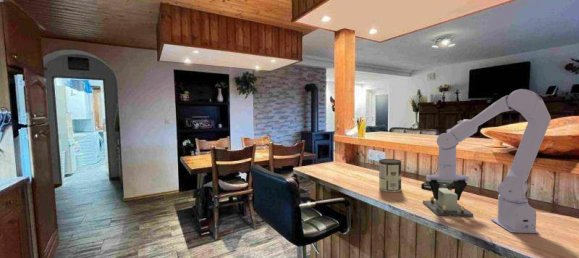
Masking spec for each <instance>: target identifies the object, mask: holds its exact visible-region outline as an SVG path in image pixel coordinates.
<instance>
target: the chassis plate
mask: <svg viewBox="0 0 579 258" xmlns="http://www.w3.org/2000/svg"><path fill="white" fill-rule="evenodd" d="M422 204H423V205H424V206H426V207H427V208H428V209H429V210H430V211H431V212H433V213H434V214H435V215H436V216H438V217H466V218H467V217H468V218H470V217H472V218H474V213H473V212H471V211H469V210H468V209H467V208H465V206H462V205H461V204H459V203H457V211H448V210H446V206H443V208H442V207H441V206H439V205H438V204H437V203H436V200H435V199H434V197H433V196H430V200H422Z"/></svg>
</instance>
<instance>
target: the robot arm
mask: <svg viewBox="0 0 579 258" xmlns="http://www.w3.org/2000/svg"><path fill="white" fill-rule="evenodd" d="M509 111H516V112H518V113H520V114H521V116H522V117H523V118H524V119H525V120H526V121H527V124H526V126H525V129H524V132H523V134H522V137H521V140H520V142H519V145H518V148H517V151H516V152H515V155H514V158H513V161H512V163H511V165H510V168H509V170H508V172H507V174H506V177H505V179H503V181H502V182H500V183H499V185H498V187H497V193H498V195H497V197H498V198H497V217H496V218H495V217H492V218H490V220H491V221H492V222H494V223H495V224H497V225H499V226H500V227H502V228H503V229H505V230H506V231H509V233H519V234H520V233H521V234H523V233H525V234H539V231H538V230H537V228H536V227H537V211H536V209H534V207H532V206H531V205H530V204H529V202H528V201H529V199H528V198H527V196H526V195H525V193H527V192H528V190H529V185H528V179H529V175H530V172H531V171H532V167H533V165H534V163H535V160H536V158H537V156H538V153H539V150H540V148H541V146H542V143H543V142H544V141H543V140H544V138H545V136H546V133H547V130H548V129H549V128H548V127H549V126H550V123H551V120H552V118H551V114H550V113H549V111H548V109H547V106H546V104H545V102H544V100H543V98H542V96H540V95H538V93H536V92H535V91H533V90H529V89H526V88H525V89H524V88H519V89H516V90H514V91H512V92H510V93H509V95H508V94H507V95H505V96H503V97H501V98H499V99H498V100H496V101H495V102H493V103H492V104H491V105H489V106H488V107H486V108H485V109H484V110H482V111H481V112H479V113H478V114H477V115H475V116H474V117H473V118H471V119H467V118H466V119H463V120H462V119H459V121H457V122H456V123H457V124H455V125H454V126H452V127H451V128H448V129H446V132H443V133H440V134H439V135H438V136H437V138H436V144H437V146H438V167H437V168H438V169H437V170H438V172H437V173H438V174H436V173H435V174H427V175H425V180H426V181H428V183H429V185H430V187H431V189H432V190H431V192H432V195H433V196H432V197H434V201H436V200H438V191H439V186H440V184H439V183H438V182H437V181H451V182H454V186H453V187H454V193H455V194H457V195H458V196H457V201H460V199H461V197H462V194H463V192H464V190H465V189H466V188H467V186H468V182H469V179H470V177H469V176H468V175H466V174H462V175H461V174H457V146H458V145H459V143H462V142H463V141H465V140H466V139H469V137H471V136H473V135H474V134H476V133H477V132H478V128H479V126H481V125H483V124H484V123H486V122H487V121H489V120H491V119H493V118H494V117H496V116H498V115H499V114H501V113H504V112H509Z"/></svg>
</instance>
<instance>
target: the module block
mask: <svg viewBox="0 0 579 258" xmlns="http://www.w3.org/2000/svg"><path fill="white" fill-rule="evenodd" d="M454 192H455V191H454ZM454 192H453V190H451V189H447V188H439V191H438V200H435V201H436V203H437V204H438V205H439V206H441V207H442V208H443V206H446V210H448V211H457V204H458V200H457V196H458V195H457V194H455V193H454Z"/></svg>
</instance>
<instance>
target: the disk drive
mask: <svg viewBox="0 0 579 258" xmlns="http://www.w3.org/2000/svg"><path fill="white" fill-rule="evenodd" d="M437 182H438V183H439V184H440V186H439V188H447V189H449V190H451V189H452V188H453V187H454V182H453V181H437ZM421 189H422V190H427V191H432V189H431V187H430V185H429V183H428V181H427V180H426V181H425V182H422V183H421Z"/></svg>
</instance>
